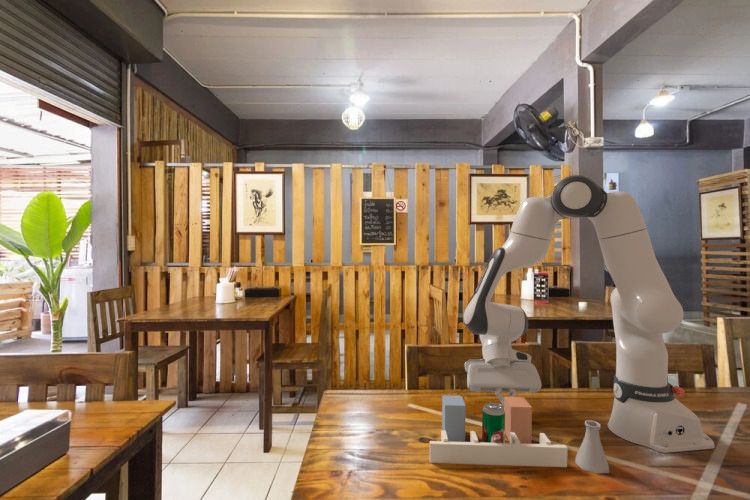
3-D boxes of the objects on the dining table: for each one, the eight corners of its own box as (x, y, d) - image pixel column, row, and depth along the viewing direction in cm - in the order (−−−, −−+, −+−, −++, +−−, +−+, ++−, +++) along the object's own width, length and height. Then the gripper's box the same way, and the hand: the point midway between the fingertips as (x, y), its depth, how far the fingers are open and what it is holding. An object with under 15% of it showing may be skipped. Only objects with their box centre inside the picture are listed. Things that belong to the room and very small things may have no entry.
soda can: (492, 465, 87) (493, 413, 86) (477, 454, 91) (477, 404, 91) (509, 459, 89) (510, 408, 89) (493, 449, 94) (493, 400, 93)
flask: (616, 479, 82) (617, 433, 82) (579, 475, 83) (580, 429, 83) (603, 460, 89) (604, 417, 89) (569, 456, 90) (570, 414, 90)
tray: (538, 431, 102) (538, 410, 102) (567, 470, 85) (567, 445, 85) (424, 428, 104) (424, 407, 104) (430, 465, 87) (430, 441, 87)
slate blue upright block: (460, 427, 103) (460, 394, 102) (465, 441, 96) (465, 405, 95) (441, 427, 103) (441, 393, 103) (444, 441, 96) (445, 405, 96)
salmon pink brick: (521, 429, 102) (522, 395, 101) (531, 443, 95) (531, 407, 94) (502, 428, 102) (503, 395, 102) (510, 442, 95) (511, 406, 95)
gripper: (465, 354, 114) (471, 400, 104) (536, 355, 112) (548, 402, 103) (462, 364, 118) (468, 409, 109) (530, 365, 117) (542, 411, 108)
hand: (507, 406), depth 106 cm, fingers closed
